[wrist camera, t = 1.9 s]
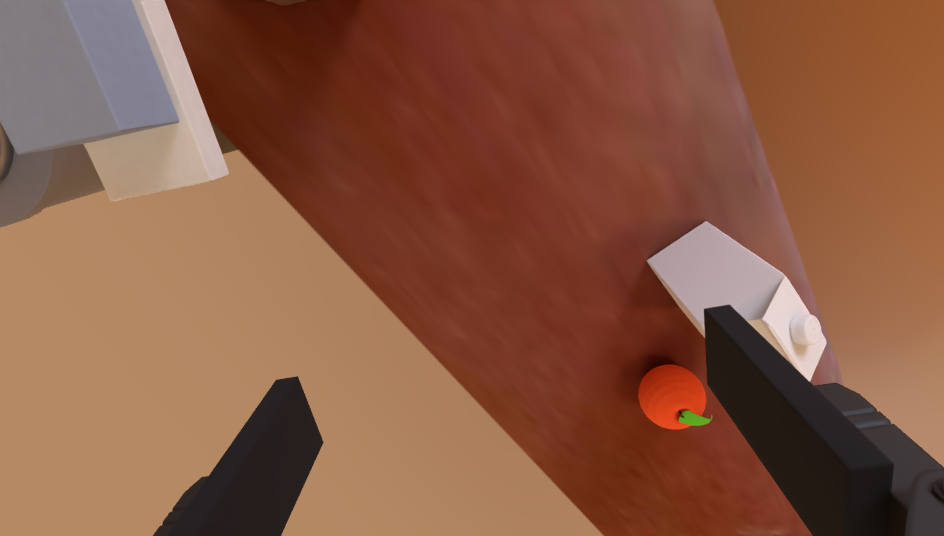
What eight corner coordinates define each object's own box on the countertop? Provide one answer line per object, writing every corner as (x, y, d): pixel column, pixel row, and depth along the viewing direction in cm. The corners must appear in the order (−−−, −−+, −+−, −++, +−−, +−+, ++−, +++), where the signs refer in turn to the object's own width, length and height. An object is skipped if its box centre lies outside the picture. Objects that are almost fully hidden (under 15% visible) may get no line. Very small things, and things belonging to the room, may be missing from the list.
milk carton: (679, 307, 55) (770, 419, 37) (645, 259, 53) (722, 353, 35) (739, 270, 53) (863, 369, 35) (705, 219, 51) (819, 296, 34)
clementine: (711, 367, 57) (740, 405, 51) (681, 413, 60) (705, 455, 53) (648, 344, 57) (669, 380, 50) (620, 392, 59) (637, 432, 52)
